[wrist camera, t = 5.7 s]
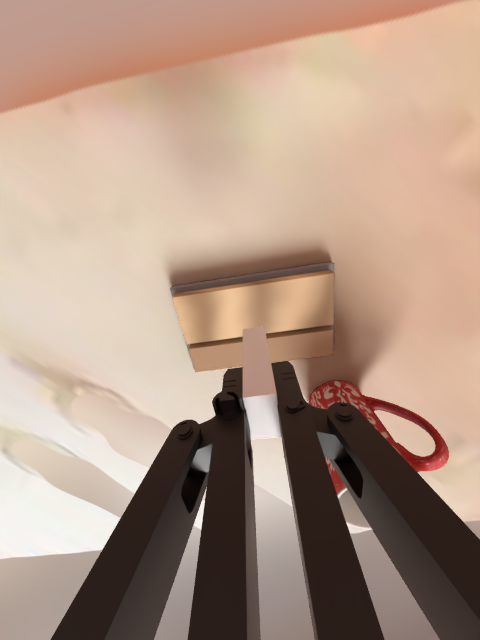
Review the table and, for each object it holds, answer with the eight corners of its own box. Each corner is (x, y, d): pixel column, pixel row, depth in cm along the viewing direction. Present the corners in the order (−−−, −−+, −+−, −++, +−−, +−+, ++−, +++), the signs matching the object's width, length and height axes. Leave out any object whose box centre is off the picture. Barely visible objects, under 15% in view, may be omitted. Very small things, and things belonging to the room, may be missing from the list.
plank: (188, 338, 29) (186, 344, 28) (174, 293, 27) (171, 297, 25) (329, 319, 28) (333, 324, 27) (330, 269, 25) (334, 273, 24)
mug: (317, 430, 37) (353, 539, 25) (291, 392, 34) (317, 495, 22) (399, 398, 34) (485, 504, 22) (378, 352, 31) (466, 446, 19)
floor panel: (195, 364, 32) (191, 374, 30) (172, 286, 28) (166, 292, 26) (331, 346, 31) (337, 356, 29) (331, 261, 26) (338, 265, 24)
